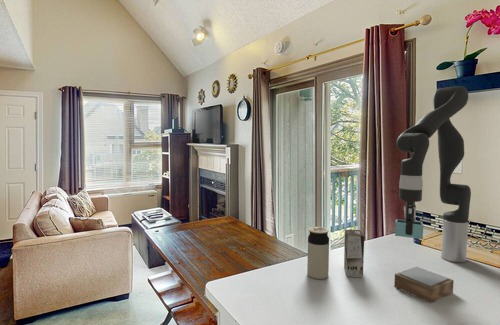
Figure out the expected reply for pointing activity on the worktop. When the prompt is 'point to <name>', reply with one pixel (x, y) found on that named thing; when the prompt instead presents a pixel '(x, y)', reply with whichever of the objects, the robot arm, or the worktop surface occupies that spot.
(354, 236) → the coffee box
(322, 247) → the travel mug
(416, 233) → the box
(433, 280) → the stand
